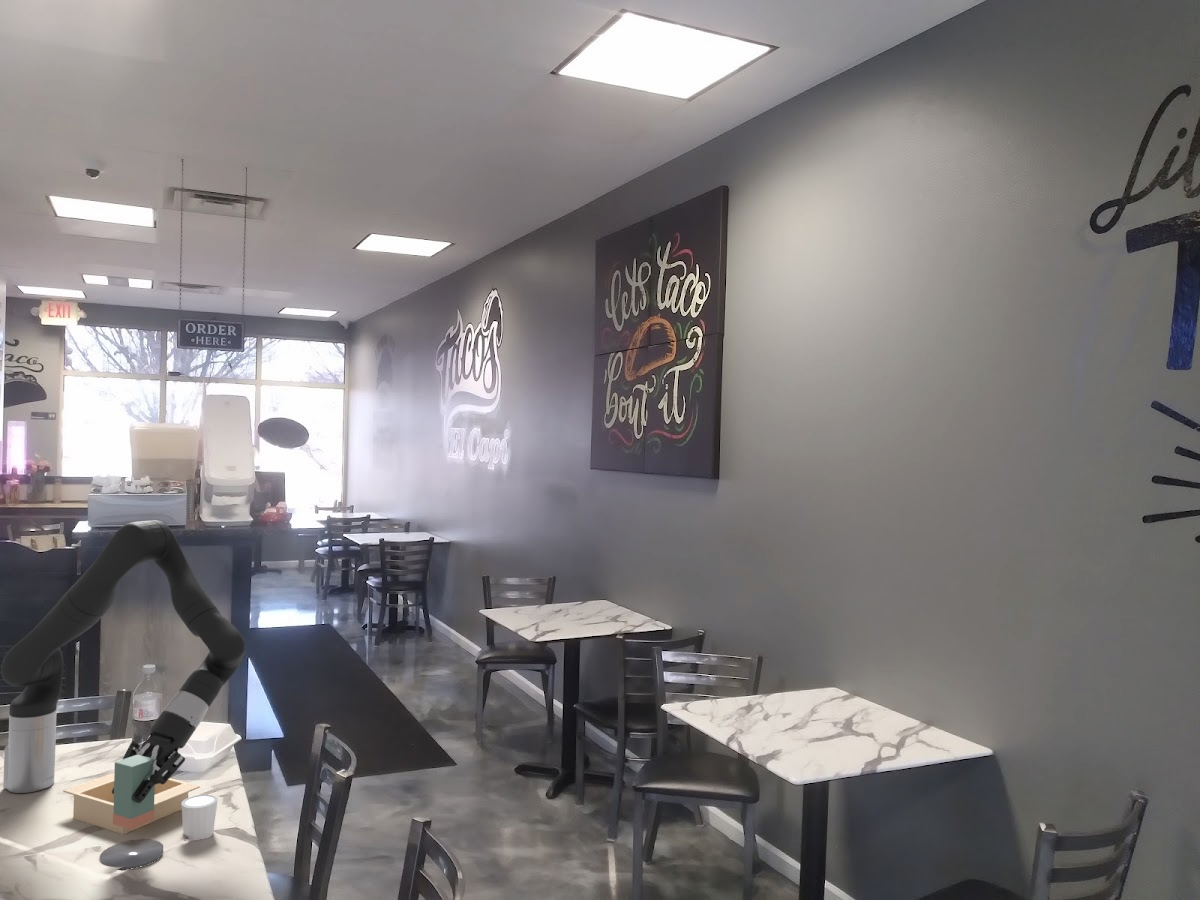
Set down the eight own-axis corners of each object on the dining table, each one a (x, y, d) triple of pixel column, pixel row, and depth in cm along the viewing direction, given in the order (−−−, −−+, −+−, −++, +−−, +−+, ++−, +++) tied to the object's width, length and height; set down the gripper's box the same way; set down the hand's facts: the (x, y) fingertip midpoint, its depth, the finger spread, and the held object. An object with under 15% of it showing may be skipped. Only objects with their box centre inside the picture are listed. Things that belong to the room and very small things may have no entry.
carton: (62, 818, 186) (63, 790, 186) (128, 793, 201) (129, 767, 201) (134, 841, 177) (135, 812, 177) (199, 813, 191) (200, 786, 191)
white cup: (180, 844, 177) (182, 809, 177) (179, 830, 183) (180, 797, 183) (217, 838, 180) (218, 804, 180) (215, 824, 186) (216, 792, 186)
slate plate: (85, 866, 166) (85, 861, 166) (127, 841, 177) (127, 836, 177) (136, 873, 164) (136, 868, 164) (175, 847, 175) (175, 842, 175)
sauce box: (112, 824, 170) (114, 762, 169) (136, 814, 174) (138, 754, 174) (130, 829, 167) (132, 767, 167) (154, 819, 172) (155, 758, 172)
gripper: (144, 704, 180) (88, 782, 170) (194, 715, 174) (138, 796, 164) (166, 723, 185) (112, 799, 174) (215, 734, 179) (162, 814, 168)
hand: (125, 797), depth 169 cm, fingers closed on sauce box, 5 cm apart
